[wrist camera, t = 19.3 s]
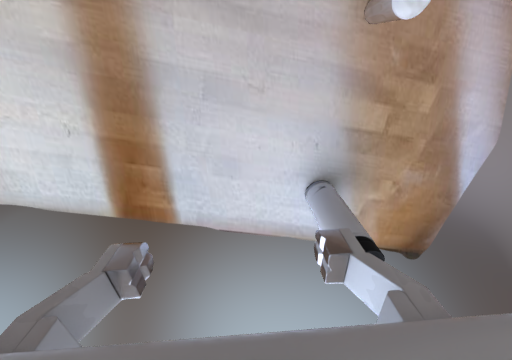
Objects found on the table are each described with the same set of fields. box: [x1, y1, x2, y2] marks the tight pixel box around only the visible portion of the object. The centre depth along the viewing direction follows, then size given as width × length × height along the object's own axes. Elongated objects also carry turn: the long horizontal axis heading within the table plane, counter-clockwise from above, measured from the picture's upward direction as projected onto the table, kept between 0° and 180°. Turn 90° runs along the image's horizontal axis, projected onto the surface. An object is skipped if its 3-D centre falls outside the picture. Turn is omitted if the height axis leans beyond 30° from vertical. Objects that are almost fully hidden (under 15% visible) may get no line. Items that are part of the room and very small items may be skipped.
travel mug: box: [305, 181, 385, 261], centre depth 37 cm, size 6×7×20 cm
